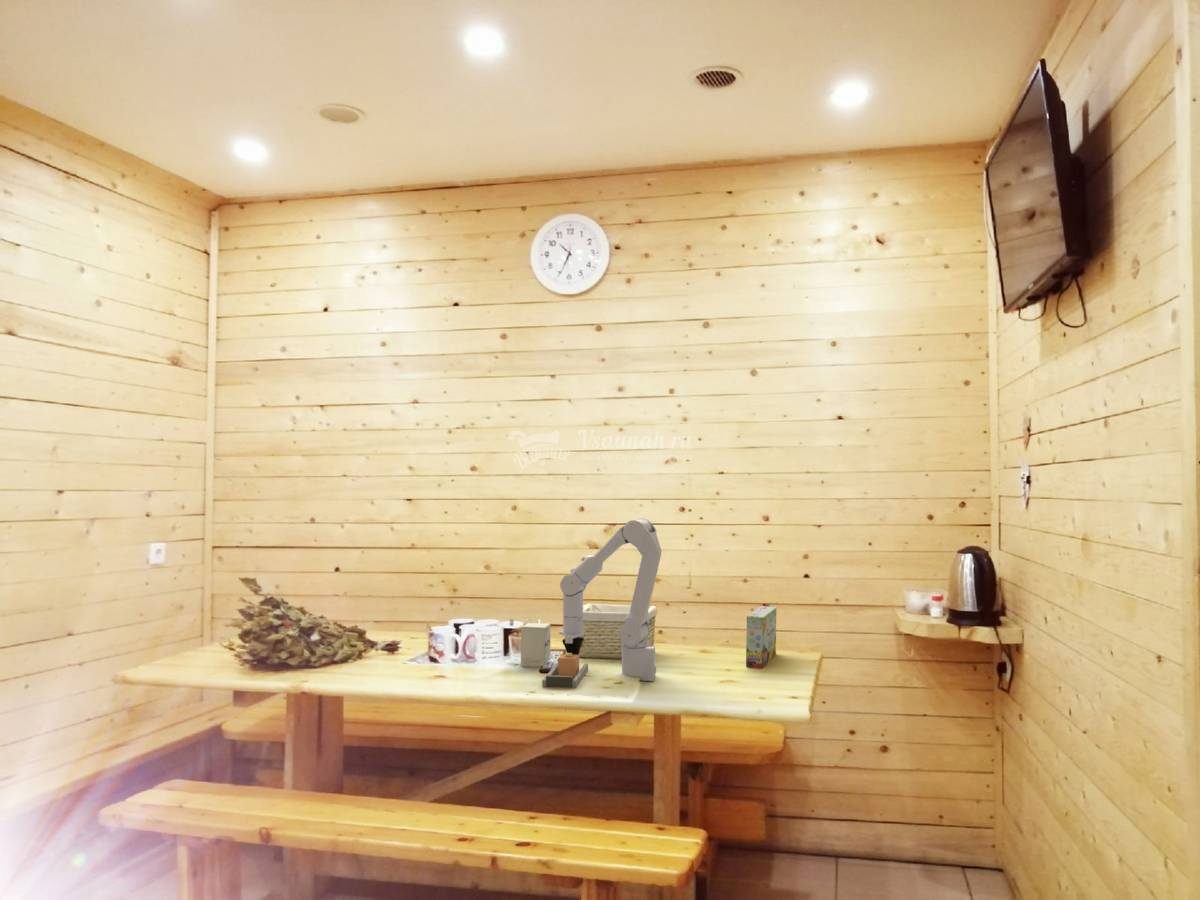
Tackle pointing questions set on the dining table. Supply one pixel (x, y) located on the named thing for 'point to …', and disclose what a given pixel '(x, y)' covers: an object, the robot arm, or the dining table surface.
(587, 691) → the dining table surface
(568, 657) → the block
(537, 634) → the supplement box
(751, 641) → the snack box
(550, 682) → the grey tray
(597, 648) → the storage basket
